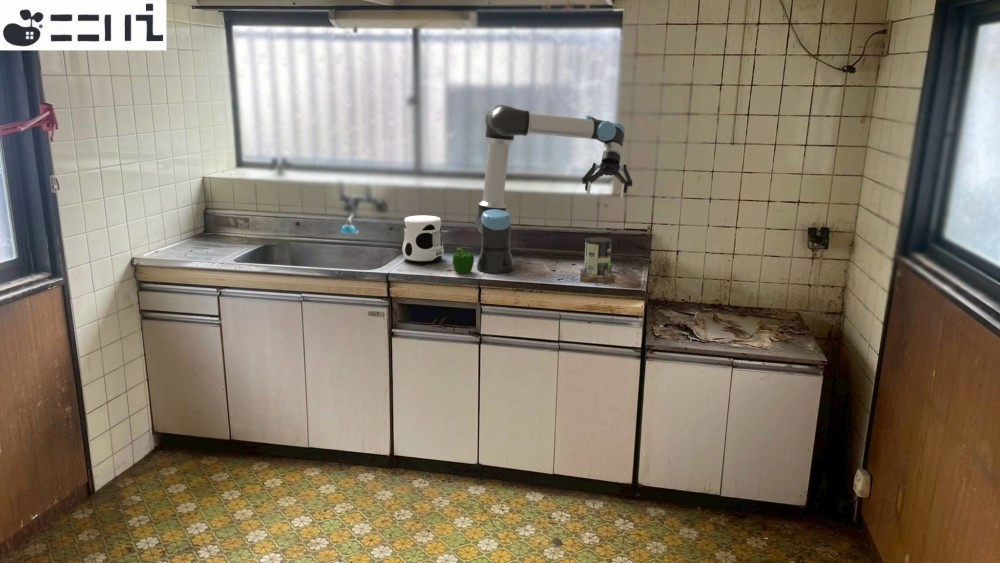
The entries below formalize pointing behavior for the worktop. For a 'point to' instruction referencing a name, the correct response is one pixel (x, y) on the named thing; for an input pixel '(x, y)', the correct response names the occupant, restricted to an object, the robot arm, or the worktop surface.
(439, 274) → the worktop surface
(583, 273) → the can seat
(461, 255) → the bell pepper
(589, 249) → the coffee can
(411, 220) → the milk container
